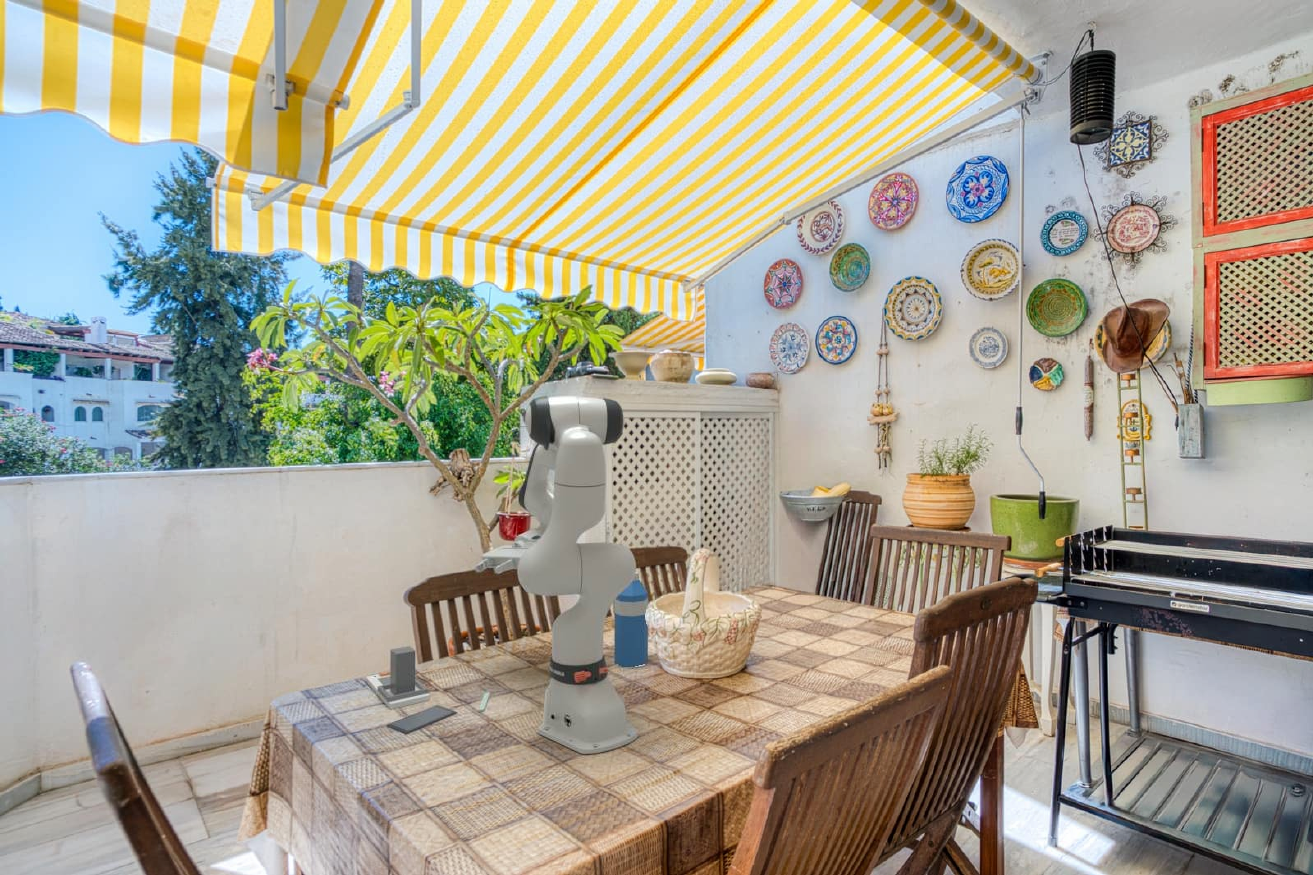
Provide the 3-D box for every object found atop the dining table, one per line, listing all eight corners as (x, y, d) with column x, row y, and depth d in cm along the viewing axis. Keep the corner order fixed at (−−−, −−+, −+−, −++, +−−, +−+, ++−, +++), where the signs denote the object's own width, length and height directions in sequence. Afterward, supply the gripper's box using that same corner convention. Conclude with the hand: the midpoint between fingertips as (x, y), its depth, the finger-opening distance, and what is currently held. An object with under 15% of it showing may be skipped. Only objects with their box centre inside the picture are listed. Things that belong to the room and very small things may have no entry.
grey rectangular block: (415, 692, 157) (415, 650, 157) (395, 696, 154) (395, 654, 154) (409, 686, 161) (409, 646, 161) (390, 691, 158) (390, 649, 158)
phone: (456, 716, 148) (457, 711, 148) (406, 737, 137) (406, 732, 137) (437, 708, 152) (437, 704, 152) (386, 729, 141) (386, 724, 141)
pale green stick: (485, 696, 158) (484, 692, 158) (490, 696, 159) (490, 692, 159) (478, 714, 149) (478, 709, 149) (483, 713, 149) (483, 709, 149)
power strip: (429, 700, 155) (429, 690, 155) (390, 709, 150) (390, 699, 150) (402, 674, 173) (402, 665, 173) (365, 681, 167) (365, 673, 167)
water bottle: (633, 670, 176) (633, 577, 176) (607, 663, 181) (607, 573, 182) (654, 661, 183) (654, 571, 183) (628, 654, 189) (629, 568, 189)
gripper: (504, 537, 183) (462, 558, 174) (547, 537, 169) (503, 559, 159) (511, 558, 184) (469, 580, 174) (554, 559, 169) (511, 583, 160)
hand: (485, 570), depth 167 cm, fingers open, 8 cm apart
